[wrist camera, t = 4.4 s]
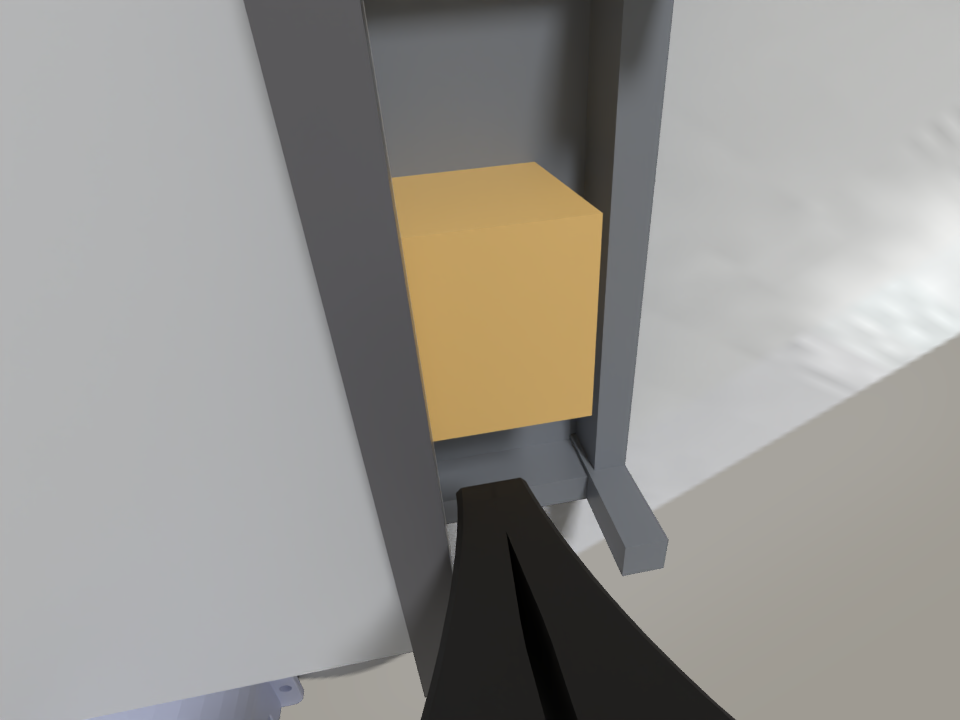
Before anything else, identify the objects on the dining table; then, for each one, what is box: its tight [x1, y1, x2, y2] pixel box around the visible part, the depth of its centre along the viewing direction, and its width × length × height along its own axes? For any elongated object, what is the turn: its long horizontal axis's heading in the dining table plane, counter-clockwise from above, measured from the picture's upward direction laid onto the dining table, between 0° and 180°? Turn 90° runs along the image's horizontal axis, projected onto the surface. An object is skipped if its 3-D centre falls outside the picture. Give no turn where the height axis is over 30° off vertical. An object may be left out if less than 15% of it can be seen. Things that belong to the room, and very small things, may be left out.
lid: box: [0, 0, 453, 720], centre depth 8 cm, size 16×11×2 cm
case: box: [363, 0, 674, 576], centre depth 12 cm, size 16×11×6 cm
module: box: [392, 162, 603, 442], centre depth 12 cm, size 4×4×5 cm
